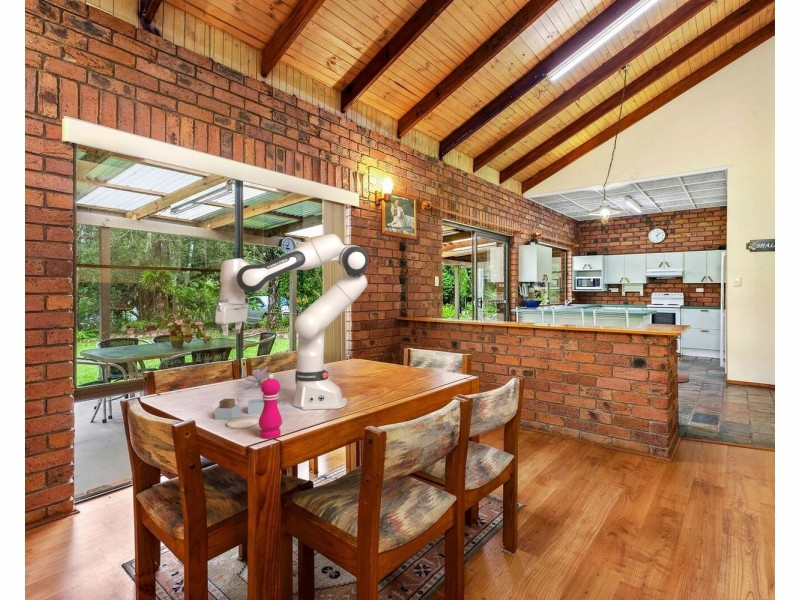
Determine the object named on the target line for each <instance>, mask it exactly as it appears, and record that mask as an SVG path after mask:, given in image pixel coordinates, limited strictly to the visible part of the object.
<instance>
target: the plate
mask: <svg viewBox="0 0 800 600" xmlns="http://www.w3.org/2000/svg"><path fill="white" fill-rule="evenodd" d="M257 425H259V418H258V417H256V416H253V415H252V416H251V415H245V416H244V415H243V416H237V417H235V418H232V419H230V420H226V427H227V428H229V429H235V430H237V429H241V430H242V429H248V428H251V427H255V426H257Z"/></svg>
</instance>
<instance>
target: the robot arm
mask: <svg viewBox="0 0 800 600" xmlns="http://www.w3.org/2000/svg"><path fill="white" fill-rule="evenodd" d="M329 262H337V263H338V264H339V265H340V266H341V267H342V268H343V269H344V271H343V274H342V276H341V277H340V278H339V279H338V280H337V281H336V282H335V283H333V284H332V285H331V286H330V287H329V288H328V289H327V290H326V291H325V292H324V293H323V294H322V295H320V296H319V297H318V298H317V299H315V300H314V301H313V303H311V304H310V305H309V306H308V307H307V308H306V309H304V310H303V311H302V312H301V313H300V314H299V315H298V316H297V317H296V318H295V320H294V329H295V332H296V333H297V336H298V337H297V347H296V370H295V373H294V374H295V375H294V376H295V377H294V381H295V382H294V383H295V392H294V397H293V401H292V406H293V407H295V408H299V409H300V410H304V411H306V410H309V411H310V410H333V409H334V410H335V409H342V408H343V407H346V405H347V404H348V399H347V398H345V397H343V394H342V390H341V388H340V387H339V385H337V384H336V383H334V382H333V381H332V380H331V379H330V378H329V370H326V369H324V359H325V358H324V357H325V356H324V355H325V354H324V353H325V352H324V351H325V350H324V348H325V333H326V328H327V327H329V325H330V324H331V323H333V322H334V321H335V320H336V319H337V318H338V317H339V316H340V315H341V314H343V312H344V311H346V310H347V309H348V308H349V307H350V306H351V305H352V304H353V303H354V302H355V301H356V300H357V299H359V297H360V296H361V295H362V293H364V291H365V290H366V288H367V287H368V279H367V277H366V276H365V273H366V270H367V268H368V264H369V256H368V253H367V251H366V250H365V249H364V248H362V247H361V246H358V245H356V244H350V243H343V242H342V239H341V238H340V237H339V236H338V235H337V234H335V233H328V234H324V235H321V236H317V237H315V238H313V239H309V240H307V241H305V242H304V243H302V244H300V245H298V246H296V248H294V249H292V250H291V251H290V252H287V253H286V254H284V255H282V256H280V257H276V258H274V259H272V260H270V261H267V262H264V263H261V264H251V263H250V262H247V261H246V260H244V259H243V258H241V257H232V258H227V259H225V260H223V261H222V263H221V267H220V274H219V276H220V277H219V278H220V279H219V280H220V285H221V287H220V289H219V302H218V303H217V306H216V307H215V317H214V320H215V321H214V322H215V324H216V325H221V326H220V328H221V330H222V336H224V337H228V336H229V335H230V330H229V328H228V327H229V325H230V324H235V328H234V330H233V331H234V334H235V335H236V334H240V333H241V328H242V325H243V323H244V322H247V319H248V315H249V314H248V313H249V308H248V304H249V303H250V298H248V297H247V296H246V295H245V292H247V293H254V292H261V291H263V290H265V289H266V288H267V287H268V286H269V284H270V281H271V280H273V279H274V278H275V279H276V278H277V277H279V276H281V275H284V274H286V273H289V272H292V271H308V270H311V269H316V268H318V267H321V266H323V265H325V264H327V263H329Z"/></svg>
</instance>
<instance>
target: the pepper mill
mask: <svg viewBox="0 0 800 600" xmlns="http://www.w3.org/2000/svg"><path fill="white" fill-rule="evenodd" d="M262 381H263V380H262ZM280 389H281V383H280V381H278V380H277V379H275V378H274V375H273V373H271V374H269V375H268V377H267V378H266V379H264V381H263V382H262V384H261V385H260V391H261V392H262V393H263V394H262V398H261V399H263V400H264V407H263V411H262V413H260V416H259V418H258V427H259V428H260V429H261V430H259V431H260V435H259V436H260V438H261V439H264V440H271V438H272V439H276V437H277V438H279V437H281V428H280V427H281V426H282V425H283V419H282V418H283V417H282V415H281V413H280V411H279V407H278V399H279V392H280Z"/></svg>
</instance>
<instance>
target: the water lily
mask: <svg viewBox="0 0 800 600" xmlns="http://www.w3.org/2000/svg"><path fill="white" fill-rule="evenodd" d="M268 368H269V366H265V368H264V369H261V370H260V369H259V368H257V369H253V370H252V375H247V377H245V378H244V380H246V381H248V382H249V383H247V384H246V386H245V387H244V388H243V389H244V390H246V389H249V388H251V387H253V386H255V385H256V384H257V385H258V386H261V384H262V382H263V380H266V379H268V375H269V374H273V373H272V371H270V372H267V371H268Z"/></svg>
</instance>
